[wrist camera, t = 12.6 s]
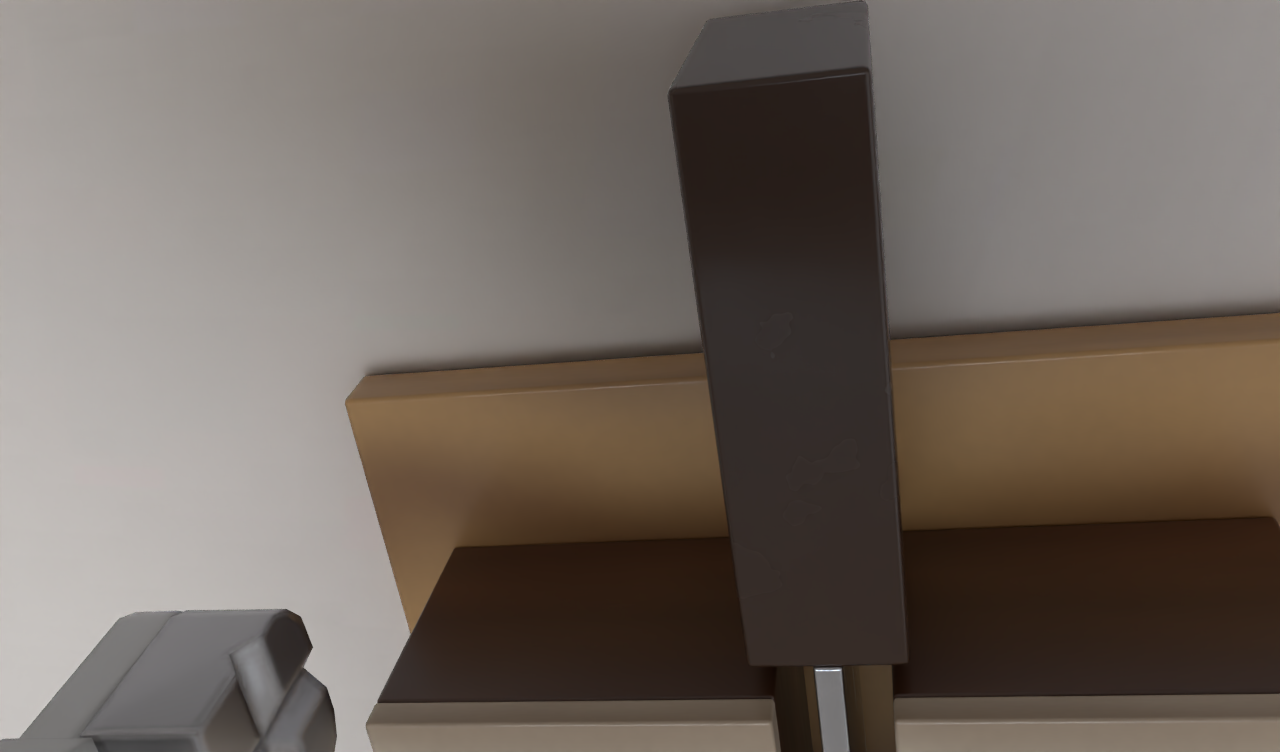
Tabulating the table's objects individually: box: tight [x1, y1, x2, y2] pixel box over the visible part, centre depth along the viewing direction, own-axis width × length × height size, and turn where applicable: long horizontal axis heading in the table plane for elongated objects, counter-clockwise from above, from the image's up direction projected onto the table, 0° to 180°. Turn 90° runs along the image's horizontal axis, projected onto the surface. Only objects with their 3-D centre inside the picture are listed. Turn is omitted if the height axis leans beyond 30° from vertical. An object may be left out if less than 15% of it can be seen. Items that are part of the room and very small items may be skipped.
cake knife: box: [668, 0, 910, 752], centre depth 19 cm, size 20×2×4 cm, turn 9°
